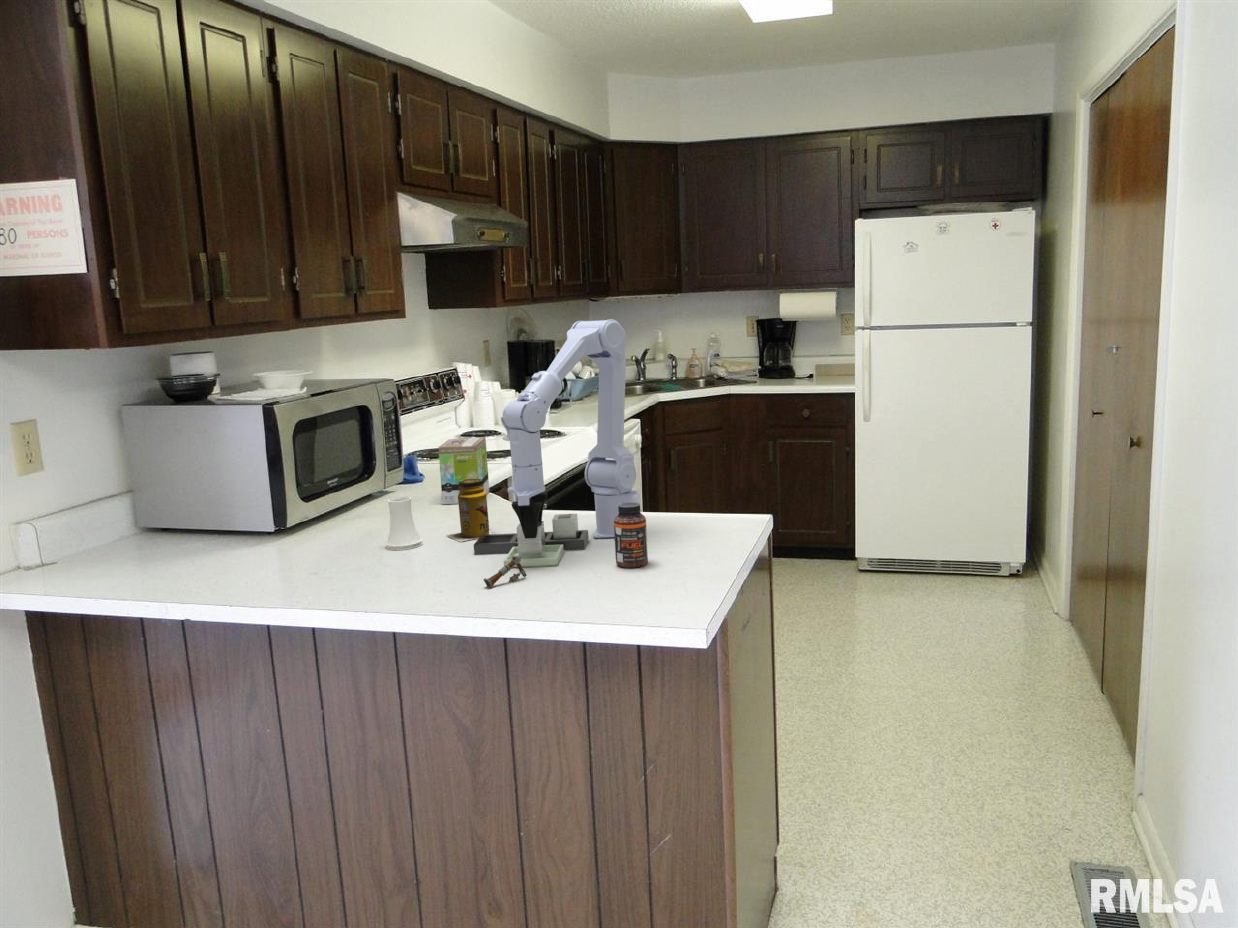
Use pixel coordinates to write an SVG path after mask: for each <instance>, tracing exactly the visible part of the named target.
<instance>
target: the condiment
mask: <svg viewBox="0 0 1238 928" xmlns="http://www.w3.org/2000/svg"><path fill="white" fill-rule="evenodd" d="M458 485H459V491H460V493H459V495H458V504H457V505H458V513H459V524H460V532H458V533H451V534H447V535H446V536H447V537H448V538H451V540H454V541H457V542H460V543H461V542H465V541H466V542H467V541H472V540H478V539H479V538H480V536H481V535H490V534H489V532H490V521H489V511H488V499H487V498H488V497H487V494H486V492H485V491H484V487H483V486H484V485H483V480H482V479H466V480H462V481H460V482H459V484H458ZM491 533H492V534H493V533H494V532H491ZM494 534H496V533H494Z"/></svg>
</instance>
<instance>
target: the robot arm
mask: <svg viewBox="0 0 1238 928" xmlns="http://www.w3.org/2000/svg"><path fill="white" fill-rule="evenodd" d="M626 333H627V331H626V330H625V329H624V328H623V326H622V325H621V324H620V322H618V321H617V320H616V319H611V318H610V319H606V320H605V319H603V320H602V319H601V320H578V321H575V322H574V323H573V324H572V326H571V328H570V329H569V330H568V331H567V332H566V340H565V342H564V343H563V345H562V346H561V348H560V350H559V351H558V353H557V354H556V355H555V357H554V359H553V361H552V362H551V364H549V367H548V368H547V369H546V370H542V371H541V370H539V371H538V372H534V374H533V375H531V379H532V380H531V381H530V382H529V383H528V385H527V386H526V387H525V388H524V389H523V391H522V392H520V393H519V394H518V397H517V399H516V400H511V401H509V402H508V403H507V405H506V406H505V407H504V408H503V411H502V416H500V422H501V425H502V427H503V428H504V429H505V431H506V436H507V439H508V440H509V445H510V446H509V448H510V449H509V450H510V459H511V460H510V461H511V470H512V481H513V483H512V485H513V486H511V487H510V486H509V487H508V488H507V494H508V493H510V494H511V493H513V494H514V495H515V496H516V497H517V501H511V508H512V509H513V511H514V512H515V514H516V516H517V518H518V521H519V523H520V524H521V527H522V531H523V534H524V537H525V539H529V538H536V536H537V529H538V521H543V511H544V507H545V504H546V500H547V498H548V492H545V491H546V485H545V482H544V469H543V468H544V467H543V458H542V446H541V445H542V443H541V433H540V430H541V429H542V428H543V427H545V424H546V420H547V419H546V418H547V414H548V412H549V411H548V410H549V408H550V407H551V406H552V404H553V403H554V401H555V400H556V399H557V398H558V396H559V395H560V393H562V390H563V384H562V381H563V380H564V379H565V378H566V376H567V375H568V374H569V373H571V371H572V370H573V369H574V367H576V365H577V364H579V362H580V361H581V360H582V359H583V357H586V358H587V359H589V360H590V361H592V362H593V363H594V364H595V365H596V366H597V368H598V394H597V395H598V396H597V399H598V402H597V434H596V435H597V437H596V439H597V440H596V445H595V446H594V447H593V448H592V449H591V450H589V452H588V455H587V457H588V458H587V463H586V466H585V469H584V479H585V483H586V484H587V485H588V486H589V487H590V489H591V492H592V493H594V495H593V496H594V506H595V507H594V509H595V511H594V512H595V522H596V523H595V524H596V528H595V531H594V533H593V538H594V539H602V538H605V539H607V538H608V539H609V538H615V535H614V519H615V517H616V516H618V514H619V512H618V505H619V504H621V503H627V502H635V503H639V504H640V505H641V501H640V492H639V490H632V488H633V487H634V486H635V483H636V480H637V469H636V465H635V459H634V458H635V455H634V453H632V452H631V451H630V450H629V449H628V448H627V447H626V446H625V442H624V437H625V433H624V432H625V409H626V408H625V407H626V406H625V402H626V400H625V398H626V370H627V369H626V368H627V366H626V365H627V359H626V336H627V335H626Z"/></svg>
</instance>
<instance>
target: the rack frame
mask: <svg viewBox="0 0 1238 928" xmlns="http://www.w3.org/2000/svg"><path fill="white" fill-rule="evenodd" d="M578 532H579V539H563V540H554V537H553V531H544V533H545V545H563V546H564V550H566V551H583V550H586V547H587V544H588V543H589V540H588V539H589V530H588V529H582V530H581V529H578ZM512 547H518V540H517V532H515V533H514V532H513V533H495V534H490V535H481V536H480V538H478V539H476V541H475V543H474V544H473V552H474V553H473V554H474V555H497V554H508V553H509V552H510V550H511V549H512Z"/></svg>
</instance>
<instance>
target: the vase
mask: <svg viewBox="0 0 1238 928" xmlns="http://www.w3.org/2000/svg"><path fill="white" fill-rule="evenodd" d="M387 503H388V508H389V515H390V516H389V517H390V523H389V524H390V525H389V526H390V527H389V533H388V536H387V541H386V542H385V543H384V544H385V545H386V546H385V549H386V550H390V551H404V550H405V551H406V550H411V549H416V548H419V547H420V546H422V545H423V538H421V536H420V535H419V533H418V531H417V529H416V526H415V523H414V519H413V513H412V497H410V496H397V497H393V498H389V499H387Z"/></svg>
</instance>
